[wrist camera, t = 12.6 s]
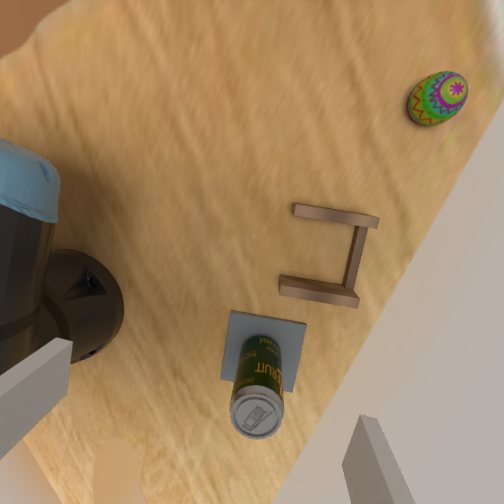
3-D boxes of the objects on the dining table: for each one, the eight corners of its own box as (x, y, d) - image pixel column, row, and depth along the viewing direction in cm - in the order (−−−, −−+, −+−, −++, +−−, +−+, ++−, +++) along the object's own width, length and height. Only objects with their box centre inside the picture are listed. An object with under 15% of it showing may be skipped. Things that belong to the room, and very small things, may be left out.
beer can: (265, 376, 41) (262, 450, 30) (233, 355, 41) (217, 421, 29) (289, 347, 40) (295, 412, 29) (256, 325, 40) (248, 381, 28)
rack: (278, 283, 39) (279, 294, 35) (293, 202, 37) (295, 204, 33) (348, 295, 39) (357, 308, 34) (367, 214, 37) (379, 217, 32)
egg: (431, 72, 33) (465, 46, 27) (456, 108, 34) (495, 91, 28) (393, 103, 34) (418, 85, 28) (418, 138, 35) (447, 128, 29)
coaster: (221, 376, 42) (220, 379, 42) (231, 310, 40) (230, 312, 40) (292, 389, 42) (292, 392, 42) (306, 323, 40) (306, 325, 39)
